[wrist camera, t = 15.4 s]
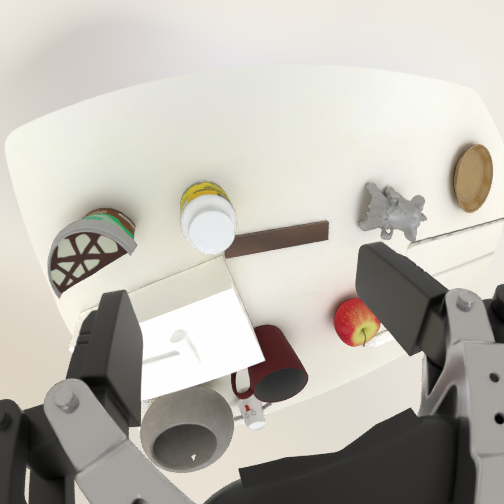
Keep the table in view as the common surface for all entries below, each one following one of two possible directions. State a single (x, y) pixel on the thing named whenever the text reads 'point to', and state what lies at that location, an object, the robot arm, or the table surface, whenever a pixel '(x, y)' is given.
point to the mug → (274, 369)
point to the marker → (380, 339)
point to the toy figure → (252, 412)
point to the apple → (355, 323)
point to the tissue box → (190, 329)
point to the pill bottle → (207, 217)
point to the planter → (187, 429)
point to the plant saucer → (473, 178)
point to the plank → (277, 239)
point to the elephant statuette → (393, 213)
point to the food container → (89, 247)
